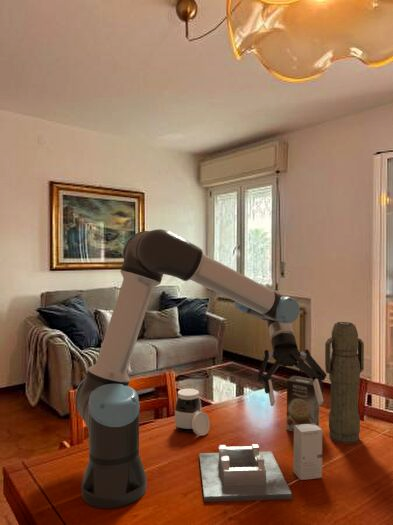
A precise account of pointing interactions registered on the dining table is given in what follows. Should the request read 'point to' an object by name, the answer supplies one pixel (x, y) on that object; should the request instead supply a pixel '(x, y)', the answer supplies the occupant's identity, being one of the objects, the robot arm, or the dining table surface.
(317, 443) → the skincare box
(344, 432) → the thermos
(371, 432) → the dining table surface
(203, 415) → the spread jar
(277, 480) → the box holder fixture
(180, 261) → the robot arm
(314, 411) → the coffee box
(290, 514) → the dining table surface
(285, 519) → the dining table surface
